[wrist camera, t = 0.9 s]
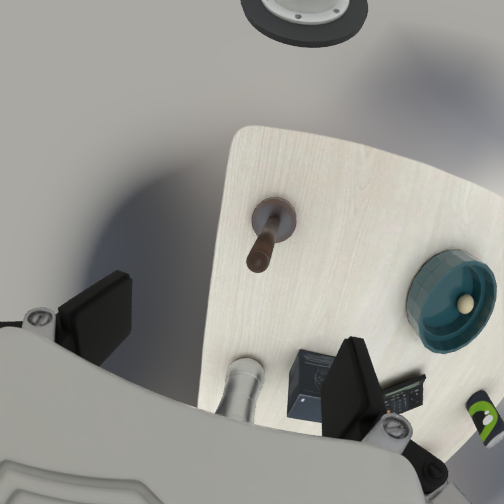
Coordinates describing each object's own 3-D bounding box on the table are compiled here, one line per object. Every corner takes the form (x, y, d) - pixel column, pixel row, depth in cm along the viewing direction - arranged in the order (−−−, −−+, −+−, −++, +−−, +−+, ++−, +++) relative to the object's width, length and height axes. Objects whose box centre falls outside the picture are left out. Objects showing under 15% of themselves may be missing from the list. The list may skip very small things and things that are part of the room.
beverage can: (481, 401, 41) (502, 441, 27) (462, 410, 42) (482, 452, 28) (487, 385, 39) (511, 426, 25) (468, 395, 41) (491, 438, 26)
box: (288, 372, 44) (285, 418, 34) (299, 348, 42) (299, 394, 32) (330, 381, 43) (335, 426, 33) (343, 357, 41) (352, 403, 31)
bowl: (427, 237, 34) (446, 248, 28) (489, 262, 33) (508, 274, 27) (390, 326, 39) (401, 347, 33) (454, 338, 37) (467, 357, 32)
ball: (458, 289, 34) (468, 297, 31) (470, 293, 34) (479, 301, 31) (451, 306, 35) (459, 315, 32) (463, 309, 35) (471, 318, 32)
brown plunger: (259, 192, 36) (224, 214, 18) (300, 203, 36) (308, 236, 17) (250, 232, 38) (209, 290, 20) (290, 242, 37) (285, 311, 19)
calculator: (381, 417, 45) (383, 427, 42) (375, 384, 42) (378, 394, 39) (421, 402, 42) (425, 411, 40) (421, 366, 40) (426, 376, 37)
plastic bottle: (271, 359, 43) (255, 460, 24) (259, 385, 45) (240, 478, 26) (234, 348, 44) (200, 444, 25) (225, 374, 46) (193, 464, 27)
